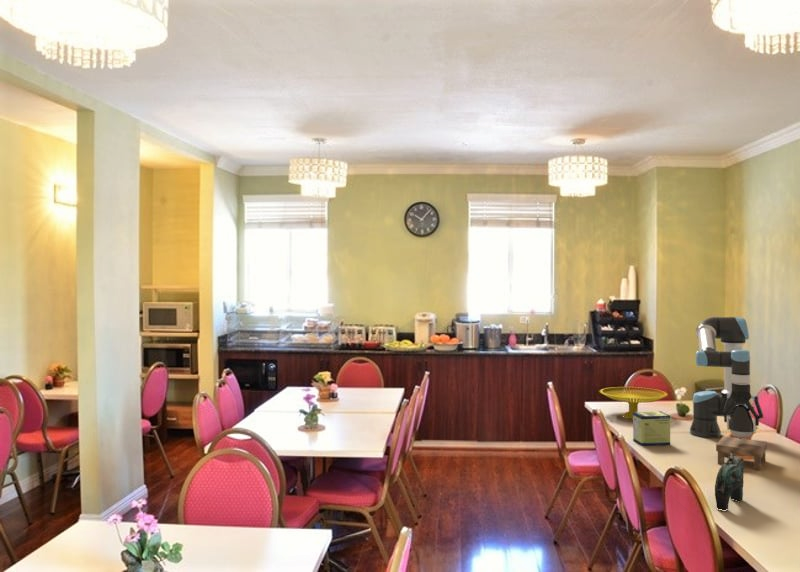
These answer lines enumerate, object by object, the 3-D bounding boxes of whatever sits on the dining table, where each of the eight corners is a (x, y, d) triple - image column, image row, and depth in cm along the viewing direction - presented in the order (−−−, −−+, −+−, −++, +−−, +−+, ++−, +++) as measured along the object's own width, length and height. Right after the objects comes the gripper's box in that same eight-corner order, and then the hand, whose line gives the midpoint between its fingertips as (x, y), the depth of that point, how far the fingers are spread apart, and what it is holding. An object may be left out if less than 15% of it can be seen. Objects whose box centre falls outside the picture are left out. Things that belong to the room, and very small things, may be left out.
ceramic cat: (731, 496, 233) (731, 445, 233) (749, 500, 228) (749, 448, 228) (711, 509, 220) (710, 455, 220) (730, 514, 215) (729, 459, 215)
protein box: (671, 445, 305) (670, 415, 305) (641, 446, 304) (641, 416, 304) (661, 439, 315) (660, 410, 315) (632, 440, 315) (632, 411, 314)
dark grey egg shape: (757, 440, 268) (756, 407, 268) (731, 439, 271) (730, 406, 271) (751, 435, 277) (751, 402, 277) (727, 433, 281) (726, 401, 281)
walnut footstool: (716, 464, 273) (716, 444, 273) (723, 454, 287) (723, 436, 287) (761, 471, 262) (761, 451, 262) (766, 461, 276) (766, 441, 276)
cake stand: (585, 413, 381) (585, 389, 380) (633, 406, 396) (633, 384, 396) (633, 426, 343) (632, 401, 343) (683, 419, 359) (683, 394, 359)
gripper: (770, 384, 270) (771, 432, 270) (715, 380, 284) (715, 426, 284) (768, 386, 264) (769, 436, 264) (711, 382, 278) (712, 429, 278)
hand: (741, 431), depth 274 cm, fingers closed on dark grey egg shape, 10 cm apart
